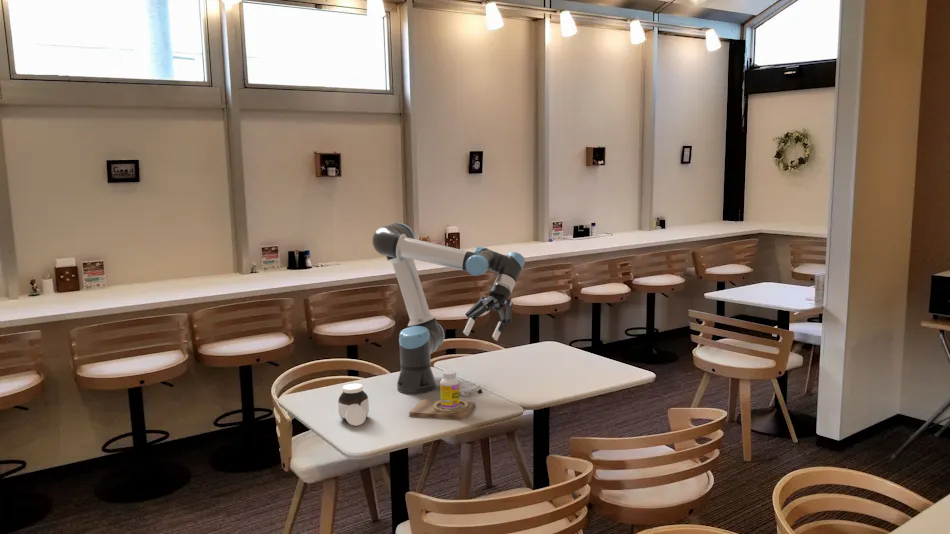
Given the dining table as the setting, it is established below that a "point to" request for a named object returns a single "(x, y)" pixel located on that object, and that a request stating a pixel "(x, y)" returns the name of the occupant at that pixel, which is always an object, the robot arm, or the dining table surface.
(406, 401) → the dining table surface
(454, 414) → the seat board
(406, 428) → the dining table surface
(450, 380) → the supplement bottle
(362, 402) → the spread jar
